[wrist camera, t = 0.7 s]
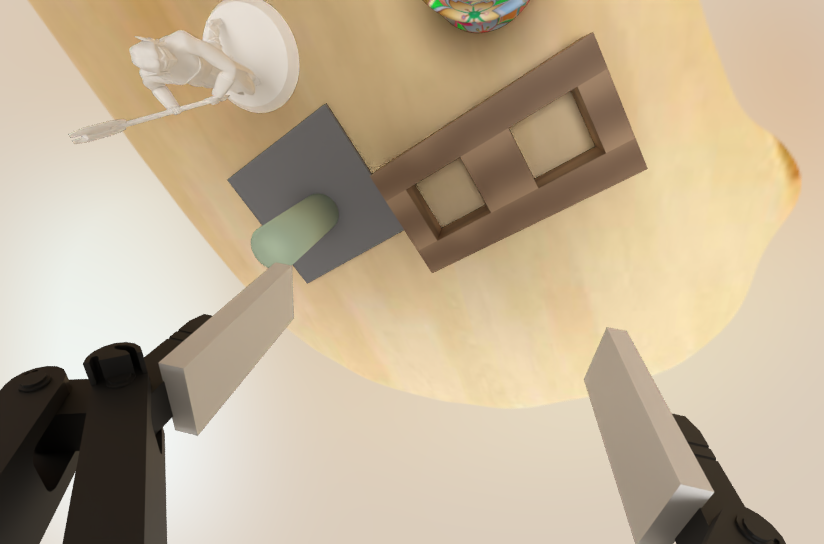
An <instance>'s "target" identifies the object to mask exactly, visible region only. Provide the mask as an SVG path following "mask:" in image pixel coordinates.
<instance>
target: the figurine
mask: <svg viewBox="0 0 824 544" xmlns="http://www.w3.org/2000/svg"><path fill="white" fill-rule="evenodd" d="M134 37H136V38H138V39H140V40H142V41H141V42H139V43H137V44H135V45H133V46H131V47H130V49H129V51H130V54H131V58H132V62H133V64H134V65H136V66H137V67H139V68H140V71H139V74H140V76H141V78H142V79H143V84H144V85H145V86H146V87H147V88H149V89H150V90H152V93H153V95H154V96H155V97H156V98H157V99H158V100H159V101H160V102H161V103H162V104H163V106H164V107H165V108H166V109H167V110H166V111H162V112H158V113H155V114H151V115H147V116H144V117H140V118H136V119H133V120H129V121H126V120H125V119H119V120H112V121H107V122H103V123H100V124H96V125H92V126H89V127H85V128H82V129H79V130H77V131H74V132H72V133H70V134H68V135H69V136H70V138H73V137H77V136H81V135H82V138H79V139H76V140H73V143H74V144H78V143H85V142H90V141H94V140H97V139H101V138H104V137H108V136H111V135H114V134H117V133H119V132H122V131H123V130H126V127H128V126H132V125H136V124H139V123H143V122H146V121H150V120H153V119H157V118H161V117H164V116H168V115H171V114H174V115H177V114H180V113H181V112H182V111H186V110H189V109H193V108H196V107H200V106H203V105H207V104H212V105H215V104H218V103H219V101H225V100H227V98H228V99H229V100H230V101H231V102H232V103H233V104H235V105H237V106H238V107H240V108H242V109H244V110H247V111H249V112H255V113H267V112H271V111H274V110H276V109H278V108H279V107H281V106H283V105H284V104H285V103H286V102H287V101H288V100H289V98H290V97H291V95H292V94H293V92H294V90H295V87H296V84H297V82H298V76H299V54H298V48H297V45H296V42H295V39H294V36H293V34H292V32H291V30H290V28H289V26H288V24H287V23H286V21H285V20H284V19H283V17H282V16H281V14H280V13H278V12H277V11H276V10H275V9H274V8H273V7H272V6H271V5H269V4H268V3H266V2H265V1H263V0H223V1H222V2H220V3H219V4H218V5H217V6H216V7H215V8H214V9H213V11H212V12H211V13H210V16H209V18H208V20H207V21H206V25H205V28H204V33H203V40H201V39H198V38H196V37H194V36H192V35H191V34H189V33H188V32H186V31H183V30H178V31H176V32H174V33H172V34H170V35H167V36H164V37H162V38H160V39H156V40H155V39H153V38H150V37H148V38H144V37H140V36H134ZM187 83H188V84H190V85H192V86H195V87H205V88H213V90H212V95H214V96H211V97H208V98H205V99H204V100H202V101H199V102H195V103H191V104H188V105H184V106H179V104H178V102H177V101H176V99H175V98H174V96H173V95H172V93H171V91H170V90H169V89H168V87H167V86H165V84H176V85H185V84H187Z"/></svg>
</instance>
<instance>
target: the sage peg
mask: <svg viewBox="0 0 824 544" xmlns="http://www.w3.org/2000/svg"><path fill="white" fill-rule="evenodd" d="M338 218H339V211H338V208H337V206H336V204H335V202H334V201H333V200H332V199H331V198H330V197H328V196H326V195H324V194H318V193H317V194H312V195H310V196H308V197H307V198H305V199H304V200H302V201H301V202H299V203H297V204H296V205H294V206H293V207H291V208H290V209H288V210H286V211H285V212H283V213H282V214H280V215H279V216H277V217H275V218H274V219H272V220H271V221H269V222H267V223H266V224H264V225H263V226H261V227H260V228H258V229H257V230H256V231H255V232H254V233H253V235H252V238H251V248H252V251H253V253H254V255H255V257H256V258H257V260H258V261H259V262H260V263H261V264H263V265H264V266H266V267H267V268H269V267H271V266H272V265H273V264H274V263H275V262H276V263H281V264H286V265H293V264H294V263H295V262H296V261H297V260H298V259H299V258H300V257H302V256H303V255H304V254H305V253H306V252H307V251H308V250H309V249H310V248H311V247H312V246H313V245H314V244H316V243H317V242H318V241H319V240H320V239H321V238H322V237H323V236H324V235H325V234H326V233H327V232H328V231H330V230H331V229H332V228H333V227H334V226H335V225H336V223H337V222H338Z"/></svg>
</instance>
